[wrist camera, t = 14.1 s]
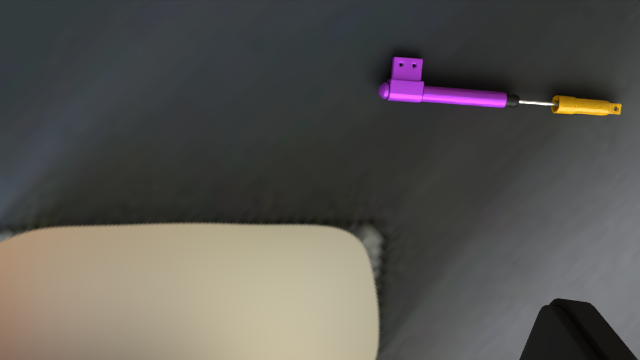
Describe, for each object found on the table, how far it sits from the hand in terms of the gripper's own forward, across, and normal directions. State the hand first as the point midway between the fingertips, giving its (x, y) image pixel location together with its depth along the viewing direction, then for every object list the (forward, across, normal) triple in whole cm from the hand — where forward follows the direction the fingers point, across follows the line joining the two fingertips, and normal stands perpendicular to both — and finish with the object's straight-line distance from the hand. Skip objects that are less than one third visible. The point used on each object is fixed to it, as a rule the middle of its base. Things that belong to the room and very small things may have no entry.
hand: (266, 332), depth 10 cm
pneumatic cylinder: (+28, -15, 0) cm, 32 cm away
